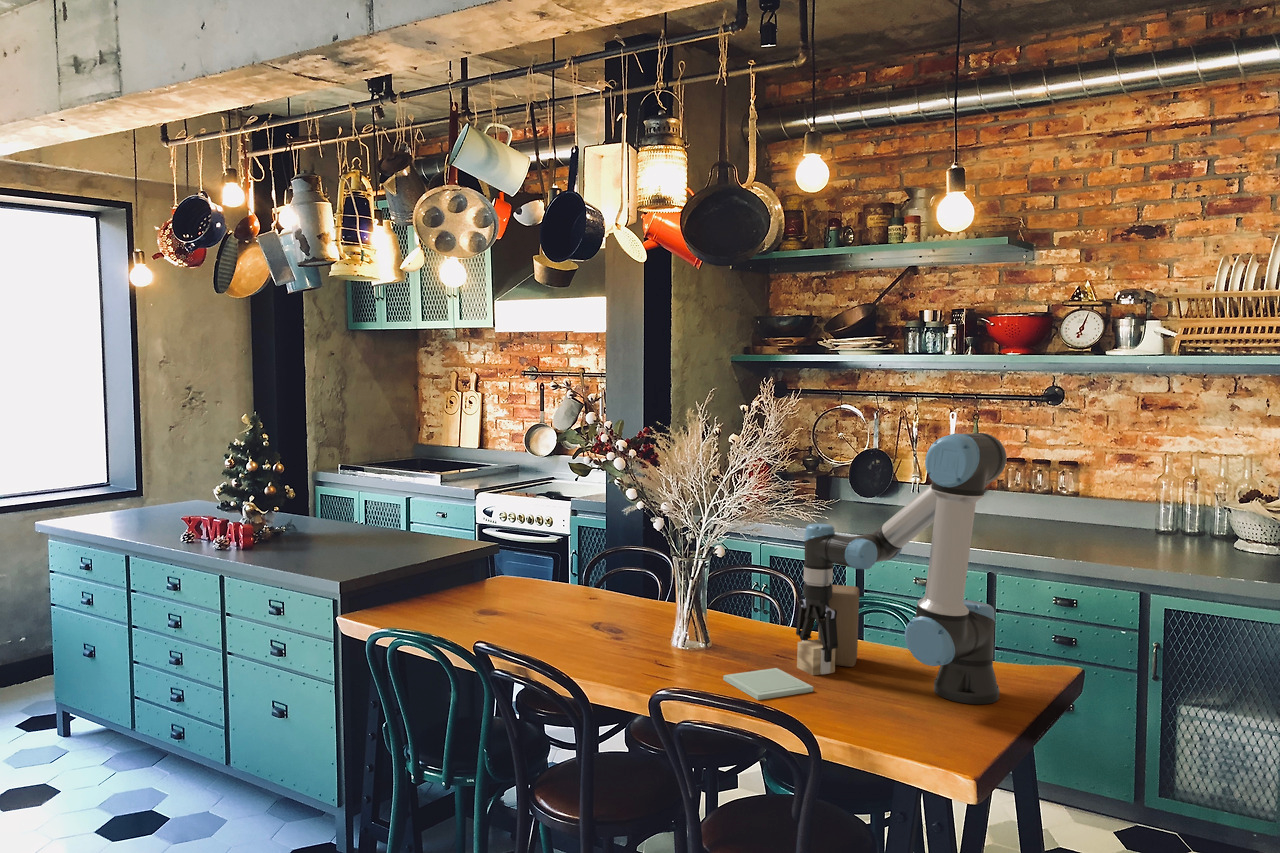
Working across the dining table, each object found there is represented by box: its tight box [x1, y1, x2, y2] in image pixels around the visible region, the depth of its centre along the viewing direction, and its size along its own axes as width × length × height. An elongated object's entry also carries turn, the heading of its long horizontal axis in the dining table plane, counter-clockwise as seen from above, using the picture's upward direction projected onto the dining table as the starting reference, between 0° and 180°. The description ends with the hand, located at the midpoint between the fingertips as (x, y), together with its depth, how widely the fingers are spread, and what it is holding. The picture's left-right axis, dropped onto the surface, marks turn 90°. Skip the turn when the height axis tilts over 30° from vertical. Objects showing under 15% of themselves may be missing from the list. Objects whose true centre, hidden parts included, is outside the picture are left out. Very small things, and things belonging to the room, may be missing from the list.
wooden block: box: [817, 584, 860, 668], centre depth 255 cm, size 10×10×20 cm
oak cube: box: [796, 638, 836, 676], centre depth 247 cm, size 7×7×7 cm
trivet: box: [722, 667, 814, 701], centre depth 234 cm, size 16×16×1 cm
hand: (815, 668), depth 247 cm, fingers open, 8 cm apart
